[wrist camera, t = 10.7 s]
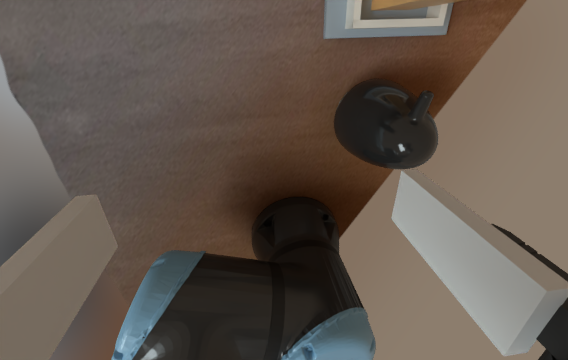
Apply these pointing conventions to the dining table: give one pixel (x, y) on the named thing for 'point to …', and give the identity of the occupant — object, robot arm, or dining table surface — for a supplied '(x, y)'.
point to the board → (382, 20)
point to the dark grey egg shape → (386, 125)
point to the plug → (406, 4)
